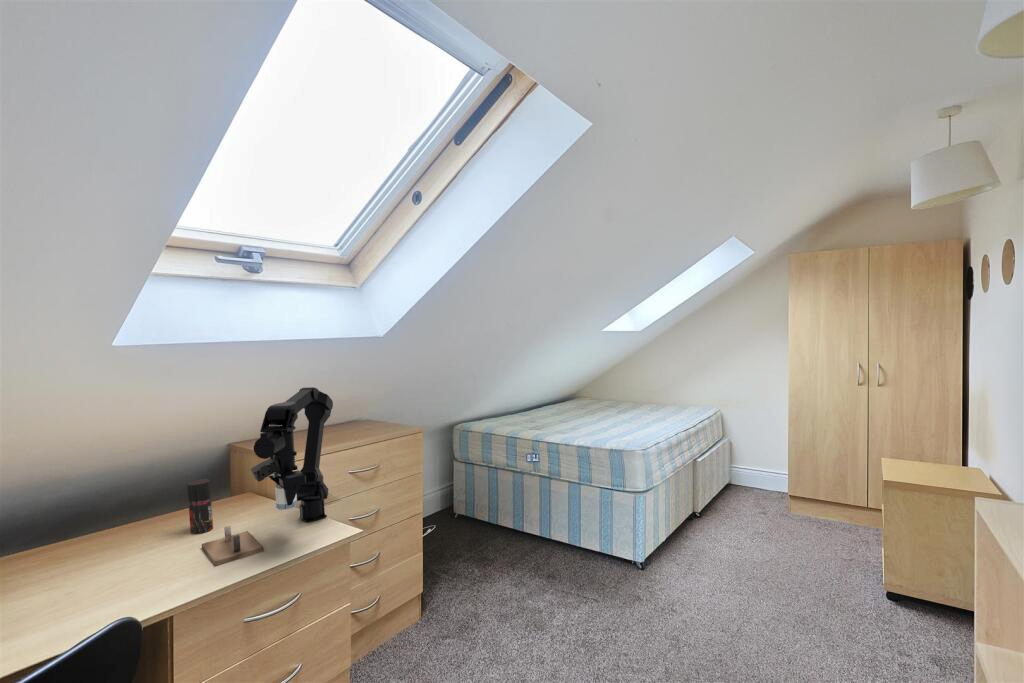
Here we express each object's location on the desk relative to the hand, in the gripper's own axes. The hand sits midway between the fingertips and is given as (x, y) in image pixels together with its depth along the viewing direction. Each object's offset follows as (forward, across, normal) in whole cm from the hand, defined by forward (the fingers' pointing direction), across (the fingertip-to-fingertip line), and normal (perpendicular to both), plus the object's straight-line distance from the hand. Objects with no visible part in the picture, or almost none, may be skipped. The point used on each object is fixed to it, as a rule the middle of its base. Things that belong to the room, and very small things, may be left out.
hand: (286, 502), depth 150 cm
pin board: (+11, -5, -14) cm, 18 cm away
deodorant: (+11, -27, -18) cm, 34 cm away
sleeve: (+1, 0, 0) cm, 1 cm away
